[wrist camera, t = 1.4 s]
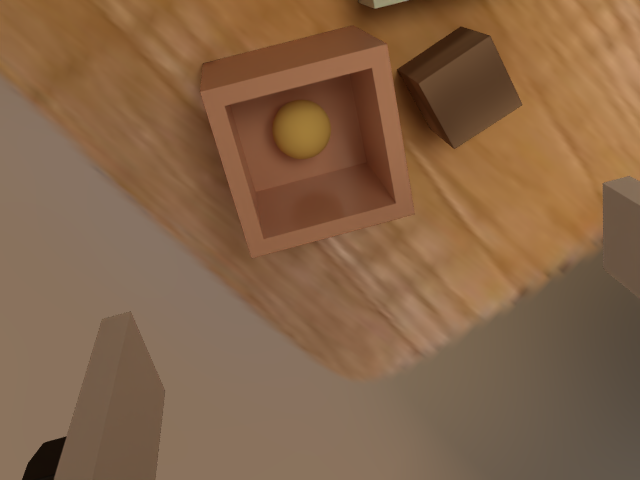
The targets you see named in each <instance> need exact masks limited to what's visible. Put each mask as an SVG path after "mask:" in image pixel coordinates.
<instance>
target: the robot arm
mask: <svg viewBox="0 0 640 480" xmlns="http://www.w3.org/2000/svg"><path fill="white" fill-rule="evenodd" d="M603 261H604V262H603V265H604V266H603V267H604V270H605V271H607V272H608V273H609V274H610V275H612V276H613V277H614V278H615V279H616V280H618V281H619V282H620V283H621V284H622V285H624V286H625V287H626V288H627V289H628V290H630V291H631V292H632V293H633V294H635V295H636V296H637V297H638V298H639V299H640V181H638V180H636V179H634V178H632V177H630V176H627V177H624V178H620V179H616V180H612V181H609V182H605V183H603ZM164 397H165V390H164V387H163V385H162V383H161V380H160V378H159V376H158V374H157V371H156V369H155V366H154V364H153V362H152V359H151V357H150V355H149V353H148V350H147V348H146V346H145V343H144V341H143V339H142V337H141V334H140V332H139V330H138V327H137V325H136V323H135V320H134V318H133V316H132V313H131V312H127V313H124V314H120V315H116V316H112V317H108V318H105V319H102V321H101V325H100V328H99V331H98V335H97V338H96V341H95V345H94V348H93V351H92V354H91V358H90V361H89V365H88V368H87V371H86V374H85V378H84V381H83V384H82V388H81V391H80V394H79V397H78V401H77V404H76V407H75V411H74V414H73V417H72V421H71V424H70V427H69V431H68V434H67V436H66V437H63V438H59V439H55V440H52V441H48V442H45V443H43V444H42V446H41V447H40V448H39V450H38V451H37V452H36V454H35V455H34V456H33V457H32V459H31V460H30V461H29V462H28V465H27V467H26V470H25V473H24V476H23V478H22V480H155V478H156V469H157V460H158V451H159V442H160V433H161V424H162V415H163V406H164Z"/></svg>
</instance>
